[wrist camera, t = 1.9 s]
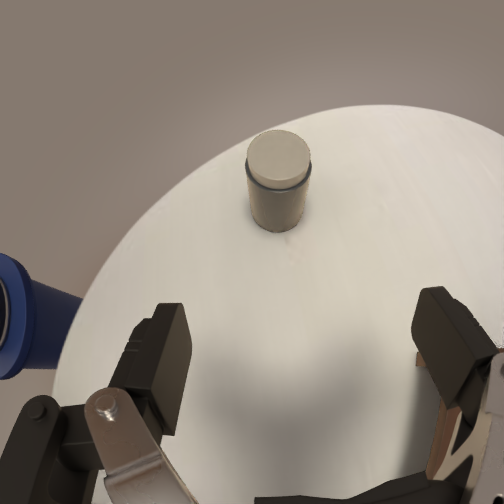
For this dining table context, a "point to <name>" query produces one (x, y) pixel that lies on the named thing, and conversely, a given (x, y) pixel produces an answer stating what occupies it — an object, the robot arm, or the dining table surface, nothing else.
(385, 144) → the dining table surface
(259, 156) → the salt shaker
